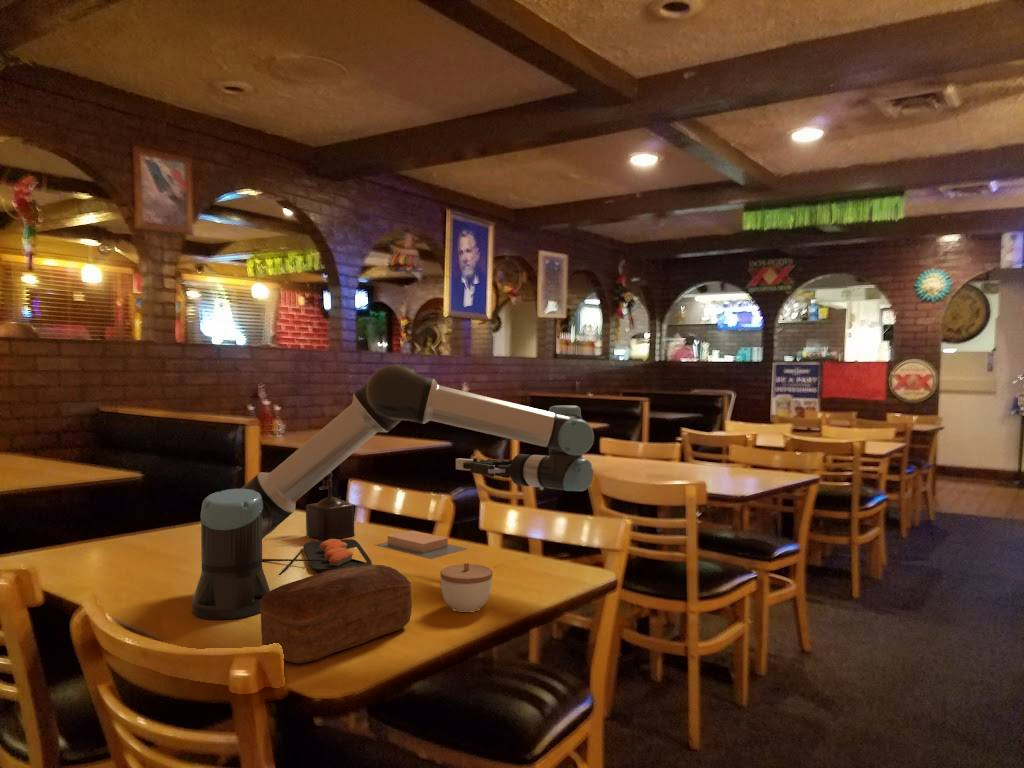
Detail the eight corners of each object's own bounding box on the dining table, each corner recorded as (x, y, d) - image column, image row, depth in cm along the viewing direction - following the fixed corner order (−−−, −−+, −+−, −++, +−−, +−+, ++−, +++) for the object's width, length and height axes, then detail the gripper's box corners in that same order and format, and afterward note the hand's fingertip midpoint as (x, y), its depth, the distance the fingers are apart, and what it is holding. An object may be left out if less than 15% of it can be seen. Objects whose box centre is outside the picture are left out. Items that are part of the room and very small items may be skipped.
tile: (447, 538, 199) (412, 530, 208) (423, 544, 192) (387, 535, 201) (447, 546, 200) (412, 538, 208) (423, 553, 193) (387, 544, 201)
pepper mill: (357, 536, 216) (357, 474, 215) (324, 542, 208) (324, 478, 208) (328, 527, 227) (328, 469, 226) (296, 533, 219) (296, 472, 218)
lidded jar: (465, 596, 160) (465, 553, 160) (502, 607, 153) (503, 562, 153) (429, 609, 152) (429, 563, 151) (467, 620, 145) (468, 573, 145)
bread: (247, 653, 128) (247, 583, 127) (373, 612, 150) (373, 552, 149) (295, 675, 119) (295, 600, 119) (421, 628, 141) (422, 564, 141)
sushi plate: (374, 572, 180) (374, 556, 180) (243, 584, 169) (243, 567, 169) (355, 545, 207) (355, 531, 207) (241, 553, 197) (241, 539, 197)
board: (468, 552, 198) (468, 548, 198) (431, 562, 187) (431, 558, 187) (412, 539, 212) (412, 536, 212) (374, 548, 201) (374, 544, 201)
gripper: (514, 490, 170) (440, 481, 185) (547, 482, 180) (474, 475, 195) (514, 457, 170) (439, 451, 185) (547, 452, 180) (474, 446, 195)
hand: (457, 463), depth 190 cm, fingers closed
